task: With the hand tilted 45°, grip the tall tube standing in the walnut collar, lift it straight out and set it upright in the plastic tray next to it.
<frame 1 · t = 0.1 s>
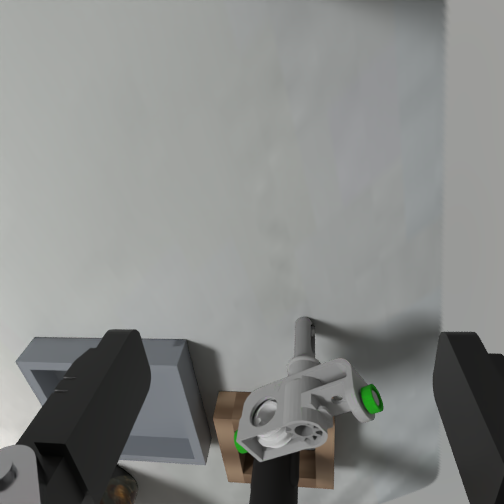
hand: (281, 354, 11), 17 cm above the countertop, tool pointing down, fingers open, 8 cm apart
jar: (94, 476, 53), on the countertop
mechanical component: (304, 322, 34), on the countertop
tube: (278, 425, 42), resting in collar
tray: (129, 391, 41), on the countertop
collar: (278, 427, 42), on the countertop
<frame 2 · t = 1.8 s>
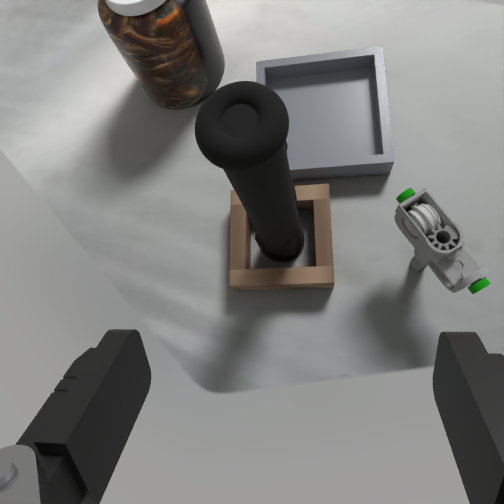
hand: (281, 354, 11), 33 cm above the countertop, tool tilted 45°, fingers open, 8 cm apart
jar: (184, 72, 55), on the countertop
mechanical component: (417, 263, 43), on the countertop
tube: (282, 242, 47), resting in collar
tray: (320, 122, 49), on the countertop
collar: (282, 241, 46), on the countertop
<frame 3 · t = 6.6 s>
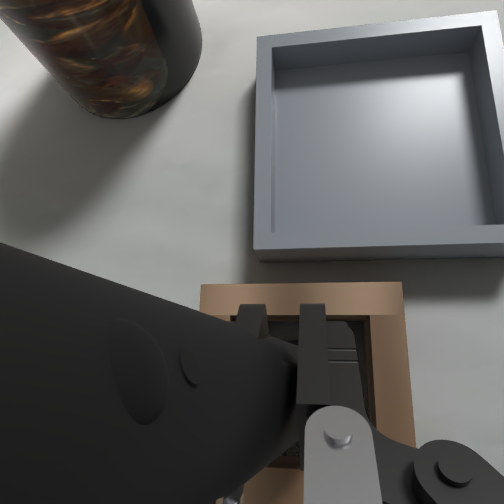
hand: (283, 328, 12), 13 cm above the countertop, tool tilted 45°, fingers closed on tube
jar: (134, 57, 33), on the countertop
tube: (301, 385, 23), resting in collar, touching gripper
tray: (373, 151, 27), on the countertop
collar: (301, 385, 24), on the countertop
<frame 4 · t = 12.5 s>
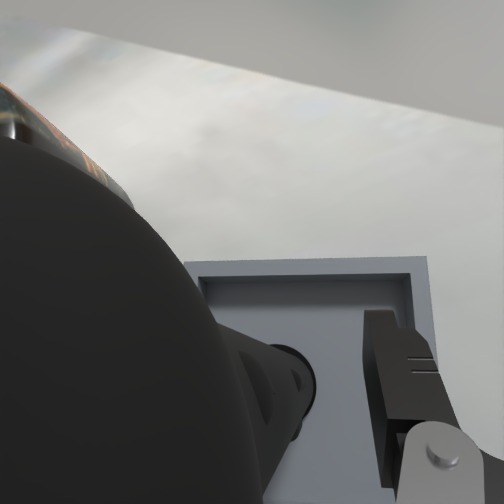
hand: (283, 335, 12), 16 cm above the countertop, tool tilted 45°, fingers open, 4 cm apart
jar: (70, 244, 32), on the countertop
tube: (277, 386, 25), point 1 cm above the countertop, touching tray
tray: (303, 383, 26), on the countertop
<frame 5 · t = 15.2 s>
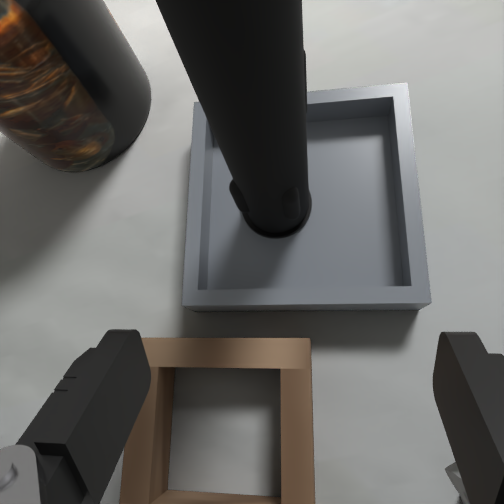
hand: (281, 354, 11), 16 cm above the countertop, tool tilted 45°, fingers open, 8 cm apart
jar: (90, 111, 35), on the countertop
mechanical component: (473, 496, 23), on the countertop
tube: (277, 207, 29), point 1 cm above the countertop, touching tray
tray: (300, 207, 29), on the countertop
collar: (227, 428, 26), on the countertop
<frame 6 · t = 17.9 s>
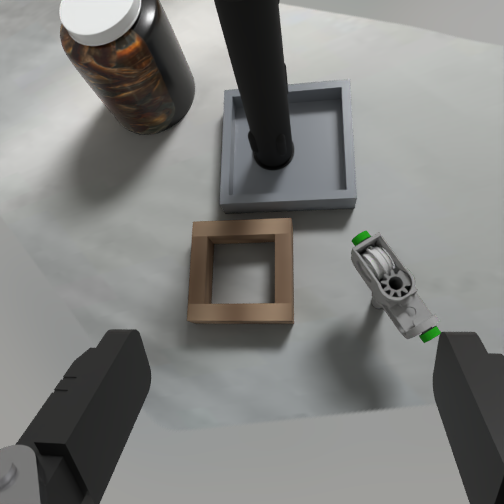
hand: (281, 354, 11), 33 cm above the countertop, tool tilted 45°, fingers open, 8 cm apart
jar: (155, 97, 55), on the countertop
mechanical component: (378, 301, 43), on the countertop
tube: (273, 152, 49), point 1 cm above the countertop, touching tray
tray: (287, 153, 49), on the countertop
collar: (244, 274, 46), on the countertop
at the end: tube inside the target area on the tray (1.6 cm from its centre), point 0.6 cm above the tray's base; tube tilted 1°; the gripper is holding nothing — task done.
